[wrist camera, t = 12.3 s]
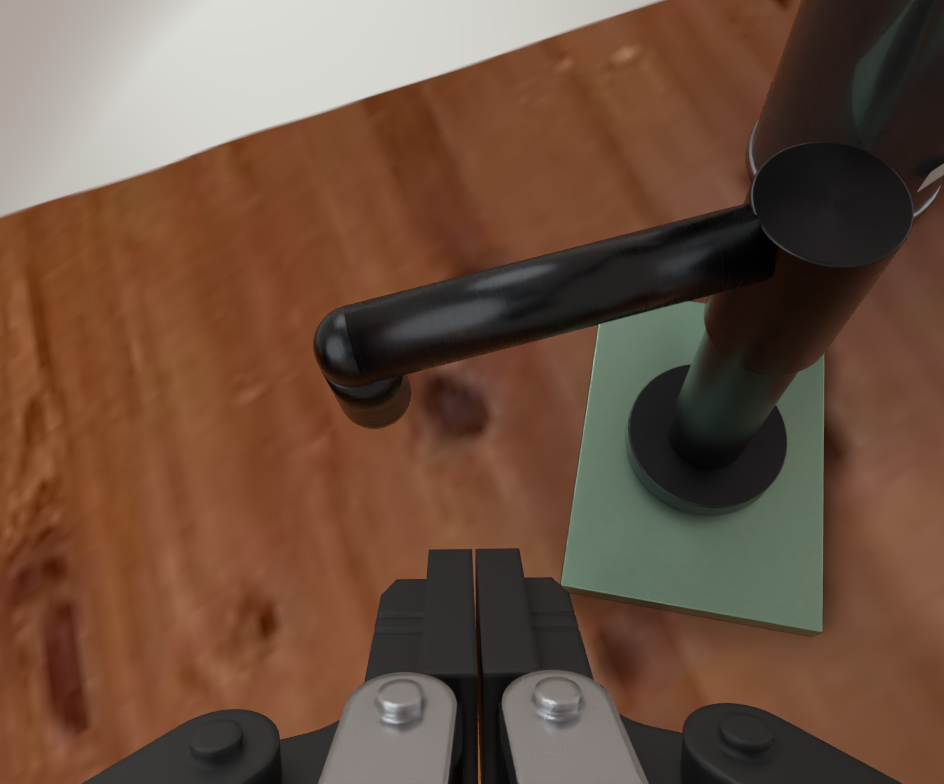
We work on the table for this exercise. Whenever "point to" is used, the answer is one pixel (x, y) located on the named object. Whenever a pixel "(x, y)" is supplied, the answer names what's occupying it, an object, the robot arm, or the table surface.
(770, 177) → the spout
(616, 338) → the tap base
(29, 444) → the table surface
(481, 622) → the robot arm
